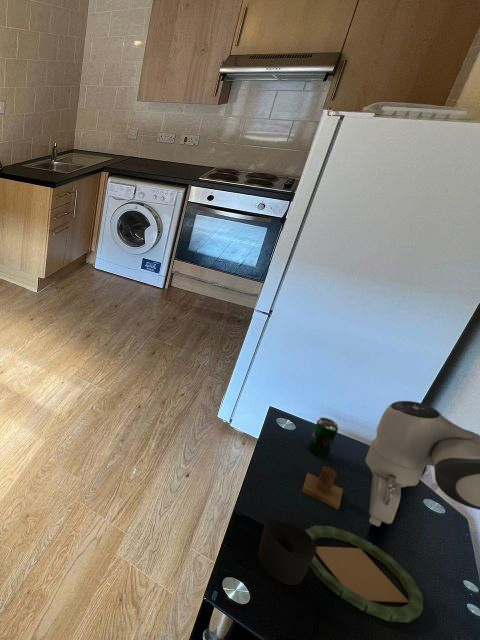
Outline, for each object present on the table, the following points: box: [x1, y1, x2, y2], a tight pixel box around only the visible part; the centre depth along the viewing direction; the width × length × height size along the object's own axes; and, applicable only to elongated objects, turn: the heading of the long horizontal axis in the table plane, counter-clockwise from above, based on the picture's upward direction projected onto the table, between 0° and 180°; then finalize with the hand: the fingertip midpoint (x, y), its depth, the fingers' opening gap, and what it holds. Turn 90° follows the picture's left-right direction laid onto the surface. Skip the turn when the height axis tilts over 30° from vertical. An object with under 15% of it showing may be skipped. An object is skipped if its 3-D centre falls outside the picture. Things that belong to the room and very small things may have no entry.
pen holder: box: [257, 517, 317, 586], centre depth 94 cm, size 9×9×10 cm
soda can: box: [308, 417, 339, 458], centre depth 129 cm, size 5×5×12 cm
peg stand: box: [301, 465, 344, 511], centre depth 115 cm, size 8×8×8 cm
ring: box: [304, 525, 424, 623], centre depth 95 cm, size 21×21×2 cm
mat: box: [315, 545, 408, 604], centre depth 95 cm, size 12×12×1 cm
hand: (374, 510), depth 98 cm, fingers open, 8 cm apart
